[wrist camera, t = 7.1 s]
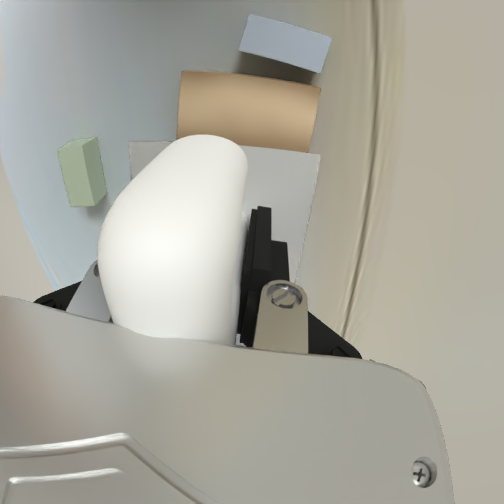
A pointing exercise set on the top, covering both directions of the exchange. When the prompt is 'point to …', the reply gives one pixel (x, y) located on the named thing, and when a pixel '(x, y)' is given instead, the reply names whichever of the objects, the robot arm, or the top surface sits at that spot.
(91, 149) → the brick sage
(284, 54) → the brick slate
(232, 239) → the figurine
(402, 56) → the top surface
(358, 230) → the top surface
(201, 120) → the oak pedestal
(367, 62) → the top surface
